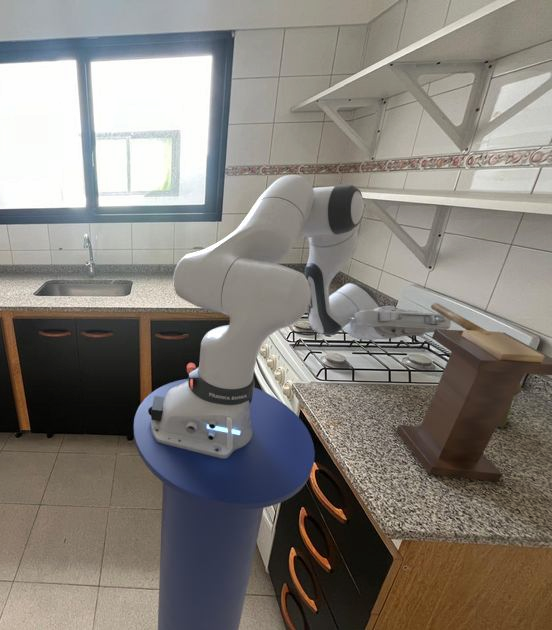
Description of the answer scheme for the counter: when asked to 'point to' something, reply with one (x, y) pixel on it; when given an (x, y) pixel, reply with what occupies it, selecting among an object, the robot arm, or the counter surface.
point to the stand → (467, 408)
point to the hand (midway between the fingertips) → (420, 316)
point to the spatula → (491, 339)
